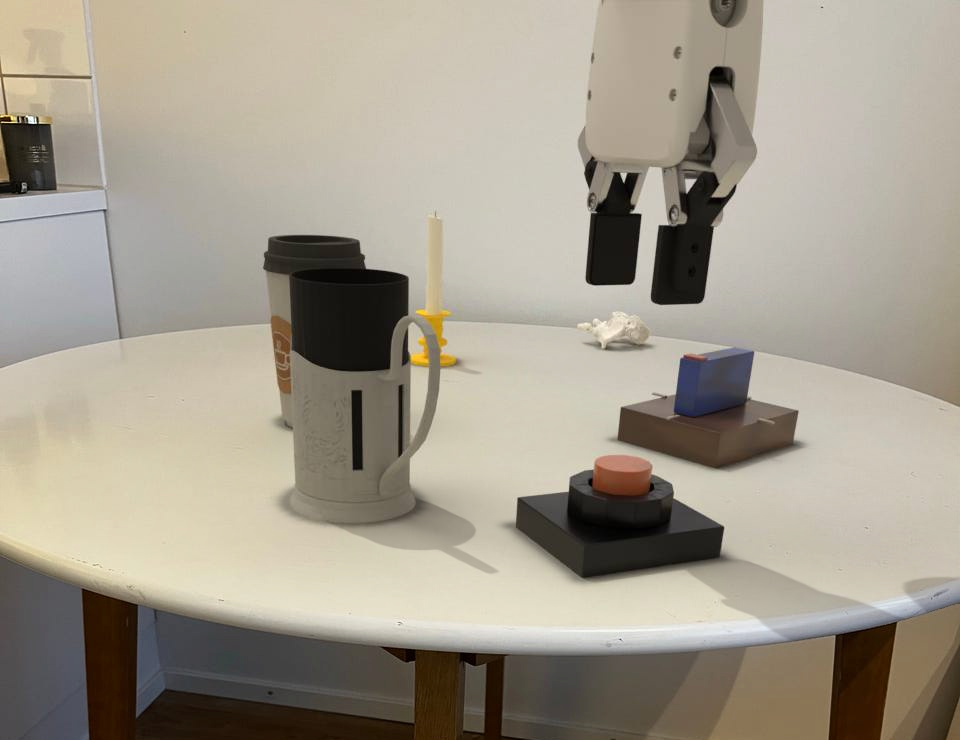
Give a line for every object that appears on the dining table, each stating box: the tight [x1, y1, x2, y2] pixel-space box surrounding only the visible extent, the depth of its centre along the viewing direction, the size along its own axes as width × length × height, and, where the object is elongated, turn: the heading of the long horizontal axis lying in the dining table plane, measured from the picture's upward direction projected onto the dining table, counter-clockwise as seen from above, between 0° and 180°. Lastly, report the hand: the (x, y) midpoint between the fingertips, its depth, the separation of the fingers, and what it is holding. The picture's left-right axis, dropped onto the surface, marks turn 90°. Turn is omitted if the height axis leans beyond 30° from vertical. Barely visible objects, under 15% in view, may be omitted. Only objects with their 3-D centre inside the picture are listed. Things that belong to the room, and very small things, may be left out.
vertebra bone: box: [576, 310, 652, 350], centre depth 125 cm, size 8×4×7 cm
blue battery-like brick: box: [674, 346, 755, 417], centre depth 85 cm, size 8×2×5 cm, turn 134°
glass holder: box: [289, 268, 442, 524], centre depth 65 cm, size 9×14×15 cm, turn 37°
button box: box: [515, 469, 725, 579], centre depth 65 cm, size 10×9×4 cm
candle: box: [410, 210, 457, 368], centre depth 109 cm, size 5×5×16 cm
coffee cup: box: [262, 234, 367, 429], centre depth 85 cm, size 8×8×15 cm
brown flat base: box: [617, 391, 799, 469], centre depth 87 cm, size 12×12×3 cm
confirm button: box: [592, 454, 653, 496], centre depth 64 cm, size 4×4×2 cm
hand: (642, 290), depth 59 cm, fingers open, 6 cm apart
